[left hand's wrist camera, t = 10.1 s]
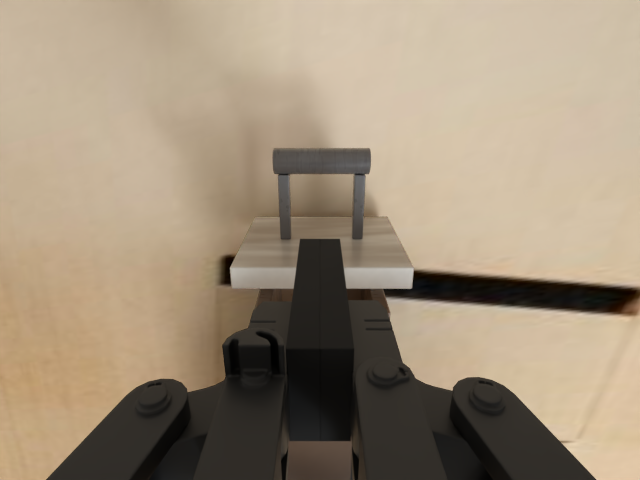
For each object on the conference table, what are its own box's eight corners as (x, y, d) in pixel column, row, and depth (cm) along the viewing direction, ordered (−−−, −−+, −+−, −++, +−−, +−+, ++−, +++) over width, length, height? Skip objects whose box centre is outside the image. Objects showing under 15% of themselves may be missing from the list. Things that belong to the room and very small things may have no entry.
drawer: (249, 138, 24) (219, 161, 17) (392, 138, 24) (424, 161, 17) (267, 410, 32) (251, 505, 25) (374, 410, 32) (390, 505, 25)
